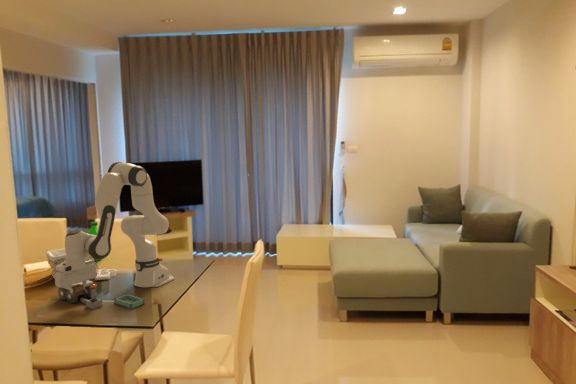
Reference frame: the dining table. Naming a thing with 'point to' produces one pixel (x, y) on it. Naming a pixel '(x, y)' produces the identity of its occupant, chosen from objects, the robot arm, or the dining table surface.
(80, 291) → the block
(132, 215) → the robot arm
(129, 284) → the dining table surface
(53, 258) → the storage basket
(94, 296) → the pin
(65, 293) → the trolley
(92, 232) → the plastic bottle
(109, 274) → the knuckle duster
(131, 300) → the tray
